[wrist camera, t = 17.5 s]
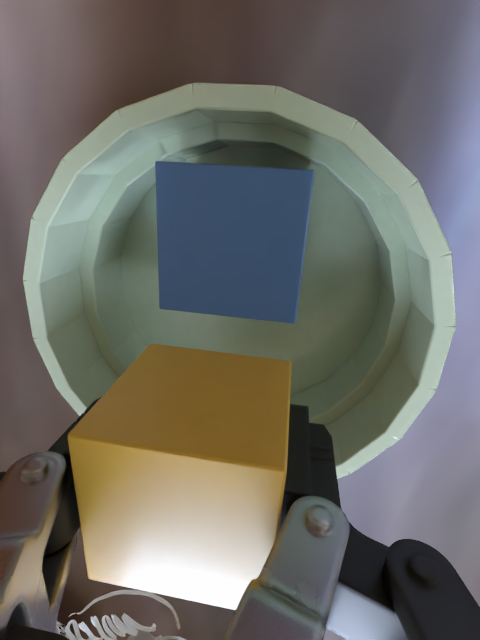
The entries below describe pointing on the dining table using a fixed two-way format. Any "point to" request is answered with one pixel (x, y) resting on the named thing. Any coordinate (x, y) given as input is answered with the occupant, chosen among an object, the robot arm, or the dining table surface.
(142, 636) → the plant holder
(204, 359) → the mustard cube
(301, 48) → the dining table surface
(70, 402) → the bowl
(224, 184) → the blue cube
